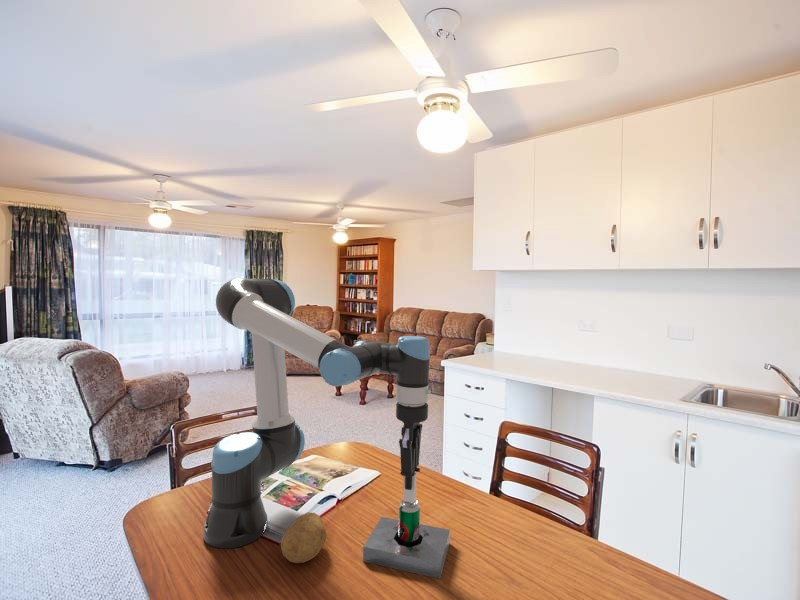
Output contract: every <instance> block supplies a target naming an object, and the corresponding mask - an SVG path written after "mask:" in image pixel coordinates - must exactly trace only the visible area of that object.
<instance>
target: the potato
mask: <svg viewBox="0 0 800 600" xmlns="http://www.w3.org/2000/svg"><path fill="white" fill-rule="evenodd" d="M326 536H327V533H326V529H325V525H324V522H323V520H322V517H321V516H320V515H319V514H317V513H315V512H305V513H303V514H301V515H299V516H298V518H296V519H295V520H294V521H293V522H292V524H291V525H290V526H289V527H288V528H287V529H286V531H285V532H284V534H283V536H282V538H281V539H280V540H281V541H280V548H281V552H282V556H283V557H284V558H285V559H287V561H288V562H290V563H293V564H304V563H307V562H308V561H311V560H312V559H313V558H315V557H317V555H318V554H319V553H320V552H321V549H323V546H324V543H325V542H326V541H325V540H326Z"/></svg>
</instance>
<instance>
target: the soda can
mask: <svg viewBox="0 0 800 600" xmlns="http://www.w3.org/2000/svg"><path fill="white" fill-rule="evenodd" d="M420 519H421V506H420V504H419V501H418V500H417V499H416V500H415V502H414V503H413V502H407V501H403V499H402V500H401V501H400V504H399V505H398V520H399V523H398V544H399V545H401V546H406V547H413V546H416V545H419V530H420V524H421V523H420V522H421V520H420Z"/></svg>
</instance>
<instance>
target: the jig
mask: <svg viewBox="0 0 800 600" xmlns="http://www.w3.org/2000/svg"><path fill="white" fill-rule="evenodd" d="M398 523H399V519H395V518H390V517H386V516H380V518H379V520H378V521H377V523H376V524H375V526H374V528H373V530H372V532H371V533H370V534H369V537H368V538H367V540H366V542H365V543H364V545H363V547H362V548H363V549H362V550H363V551H362V562H364V563H367V564H372V565H377V566H382V567H385V568H390V569H394V570H399V571H404V572H408V573H412V574H417V575H422V576H426V577H430V578H435V579H441V577H442V574H443V569H444V566H445V562H446V559H447V555H448V552H449V547H450V544H451V529H448V528H444V527H443V528H442V527H438V526H432V525H429V524H428V525H426V524H423V523H422V524H421V523H420V530H419V545H416V546H413V547H406V546H401V545H399V544H398Z"/></svg>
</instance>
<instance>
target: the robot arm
mask: <svg viewBox="0 0 800 600" xmlns="http://www.w3.org/2000/svg"><path fill="white" fill-rule="evenodd" d="M295 298H296V297H295V295H294V292H293V290H292V289H291V287H290V286H289V285H288V284H287V283H286V282H284V281H282V280H279V279H273V278H246V277H245V278H244V277H241V278H240V277H239V278H238V277H237V278H234V279H233V278H232V279H231V280H229V281H227V282H226V283H224V284H222V286H221V287H220V288H219V290H218V292H217V294H216V297H215V307H216V309H217V312H218V314H219V316H221V318H222V319H223V320H224V321H226V323H228V324H230V325H231V326H233V327H234V328H237V329H239V330H247V331H248V332H249V333H251V343H252V356H253V371H254V385H255V386H254V387H255V398H256V399H255V400H256V412H257V413H256V415H257V418H256V420H255V421H254V422H253V423H252V428H251V429H252V432H250V431H245V432H240V433H234V434H230V435H227V436H225V437H223V438H222V439H221V440H219V441H218V442H217V443H216V445H215V446H214V448H213V451H212V458H211V459H212V460H211V462H210V463H211V464H210V465H211V466H210V467H211V506H210V508H209V511H208V514H207V517H206V519H205V522H204V525H203V539H204V542H205V543H206V544H207V545H209V546H211V547H213V548H216V549H233V548H239V547H242V546H246V545H249V544H251V543H253V542H255V541H257V540H258V539H259V538H261V537H262V536H263V535H262V533H263V531H264V526H265V524H266V521H267V522H268V514H267V512H266V510H265V506H264V502H263V500H262V496H261V493H262V491H261V489H262V488H261V487H262V481H263V480H264V479H266V478H269V477H270V476H273V475H274V474H276V473H278V472H280V471H281V470H283V469H286V468H287V467H290V466H291V465H293V463H295V462H297V461H298V460H299V458H300V457H301V456H302V454H303V452H304V449H305V444H306V441H305V439H306V438H305V433H304V431H303V430H302V429H301V426H300V425H299V424H298V423H296V418H295V417H294V416H293V415H291V414H290V409H289V407H290V406H289V396H288V395H289V394H288V382H287V366H286V355H285V354H286V353H285V351H286V352H287V353H290V354H292V355H293V356H295V357H296V358H299V359H300V360H303V362H306V363H307V364H309V365H311V366H313V367H315V368H316V369H318V370H319V372H320V373H319V374H320V376H321V377H322V378H323V380H324V382H325V383H326V384H328V385H329V386H331V387H341V386H347V385H351V384H353V383H355V382H356V381H359V380H362V379H364V378H367V377H370V376H372V375H376V374H385V375H391V376H396V393H395V394H396V395H395V396H396V398H395V399H396V401H397V402H396V404H395V406H396V407H395V417H396V419H397V420H398V421H400V422H402V424H403V426H402V427H401V429H400V430H401V433H400V434H401V438H399V441H398V445H399V451H400V472H399V474H400V475H401V476H403V490H402V491H403V493H402V494H403V496H402V500H403V501H407V502H413V503H414V502H415V500H417V499H416V498H417V473H420V472H421V468H420V467H418V466H419V465H420V453H421V451H420V450H421V438H422V432H423V431H422V430H423V423H424V422H425V421H426V420H428V417H429V404H428V403H427V402H428V401H429V395H431V392H432V391H431V389H429V384H430V382H429V380H430V379H429V377H430V362H431V361H430V359H431V355H430V340H429V339H428V338H426V337H425V336H420V335H403V336H399V338H398V340H397V343H392V342H382V341H373V340H370V339H368V340H359V341H356V342H355V344H354V345H352V346H349V345H346V344H345V343H343V342H340V341H339V340H337V339H336V338H333V337H331V336H330V335H328V334H325V333H323V332H322V331H320V330H318V329H316V328H314V327H312V326H310V325H308V324H306V323H304V322H303V321H300V320H298V319H297V318H295V317H293V316H292V314H293V311H294V310H295V306H296V299H295Z"/></svg>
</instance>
